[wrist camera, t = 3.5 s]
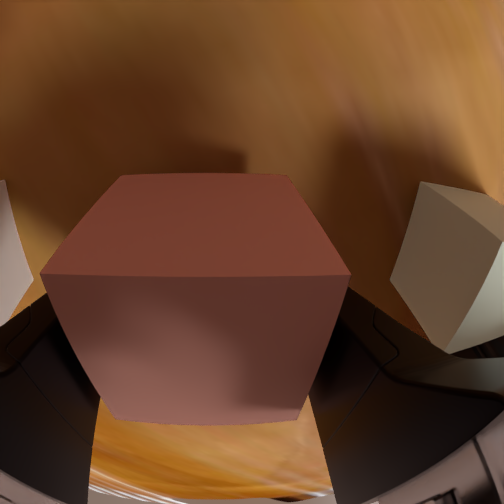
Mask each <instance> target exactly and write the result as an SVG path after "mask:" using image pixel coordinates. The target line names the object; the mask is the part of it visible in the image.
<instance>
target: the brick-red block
mask: <svg viewBox="0 0 504 504" xmlns="http://www.w3.org/2000/svg"><path fill="white" fill-rule="evenodd" d="M40 276H41V278H42V281H43V284H44V286H45V289H46V291H47V294H48V296H49V299H50V301H51V304H52V306H53V308H54V311H55V313H56V315H57V317H58V320H59V322H60V324H61V326H62V328H63V330H64V332H65V334H66V336H67V338H68V340H69V342H70V344H71V346H72V348H73V350H74V352H75V354H76V356H77V358H78V359H79V361H80V363H81V365H82V367H83V368H84V370H85V372H86V374H87V375H88V377H89V379H90V380H91V382H92V384H93V385H94V387H95V389H96V390H97V392H98V394H99V395H100V397H101V398H102V400H103V401H104V403H105V404H106V406H107V407H108V409H109V410H110V412H111V413H112V415H113V416H114V418H115V419H119V420H127V421H136V422H146V423H158V424H174V425H243V424H260V423H272V422H283V421H292V420H297V418H298V416H299V414H300V411H301V409H302V407H303V405H304V402H305V400H306V398H307V395H308V393H309V391H310V388H311V386H312V384H313V381H314V379H315V376H316V374H317V371H318V369H319V366H320V364H321V361H322V359H323V356H324V353H325V351H326V348H327V345H328V343H329V340H330V337H331V335H332V332H333V329H334V326H335V323H336V320H337V317H338V315H339V312H340V309H341V306H342V303H343V300H344V296H345V293H346V290H347V287H348V284H349V281H350V277H351V273H350V272H349V270H348V268H347V267H346V265H345V263H344V262H343V260H342V258H341V257H340V255H339V254H338V252H337V250H336V249H335V247H334V246H333V244H332V242H331V241H330V239H329V238H328V236H327V235H326V233H325V231H324V230H323V228H322V227H321V225H320V224H319V222H318V221H317V219H316V218H315V216H314V215H313V213H312V212H311V210H310V209H309V207H308V206H307V204H306V203H305V201H304V200H303V198H302V197H301V195H300V194H299V192H298V191H297V189H296V188H295V186H294V185H293V184H292V182H291V181H290V179H289V178H288V176H287V175H273V174H246V173H161V174H135V175H121V176H120V177H119V178H118V179H117V180H116V181H115V182H114V183H113V184H112V185H111V186H110V187H109V189H108V190H107V191H106V192H105V193H104V194H103V195H102V196H101V197H100V198H99V199H98V201H97V202H96V203H95V204H94V205H93V206H92V207H91V209H90V210H89V211H88V212H87V213H86V214H85V215H84V217H83V218H82V219H81V220H80V221H79V223H78V224H77V225H76V226H75V227H74V229H73V230H72V231H71V232H70V234H69V235H68V236H67V237H66V239H65V240H64V241H63V242H62V244H61V245H60V246H59V248H58V249H57V250H56V252H55V253H54V254H53V256H52V257H51V258H50V260H49V261H48V262H47V264H46V265H45V267H44V268H43V269H42V271H41V272H40Z"/></svg>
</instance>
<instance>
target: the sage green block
mask: <svg viewBox="0 0 504 504" xmlns="http://www.w3.org/2000/svg"><path fill="white" fill-rule="evenodd" d="M390 281H391V283H392V284H393V286H394V287H395V288H396V290H397V291H398V293H399V294H400V296H401V297H402V298H403V300H404V301H405V303H406V304H407V306H408V307H409V309H410V310H411V312H412V313H413V315H414V316H415V318H416V319H417V321H418V322H419V324H420V325H421V327H422V329H423V330H424V332H425V333H426V335H427V336H428V338H429V340H430V341H431V343H432V344H434V345H435V346H437V347H438V348H440V349H442V350H443V351H445V352H447V353H448V354H451V353H454V352H457V351H461V350H464V349H467V348H470V347H473V346H476V345H479V344H482V343H484V342H487V341H490V340H493V339H495V338H498V337H501V336H503V335H504V206H503V205H502V204H500V203H499V202H498V201H496V200H495V199H493V198H492V197H490V196H488V195H487V194H483V193H478V192H474V191H469V190H464V189H460V188H455V187H450V186H444V185H439V184H433V183H428V182H422V181H420V185H419V188H418V192H417V196H416V200H415V204H414V207H413V211H412V214H411V218H410V221H409V224H408V227H407V231H406V234H405V237H404V240H403V243H402V246H401V249H400V252H399V255H398V258H397V261H396V264H395V266H394V269H393V272H392V275H391V277H390Z"/></svg>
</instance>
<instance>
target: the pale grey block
mask: <svg viewBox="0 0 504 504" xmlns="http://www.w3.org/2000/svg"><path fill="white" fill-rule="evenodd" d="M33 280H34V279H33V276H32V274H31V271H30V268H29V266H28V263H27V260H26V257H25V254H24V251H23V248H22V245H21V242H20V238H19V235H18V232H17V228H16V224H15V221H14V217H13V213H12V209H11V205H10V201H9V196H8V192H7V187H6V182H5V180H0V326H2V325H3V324H5V323H6V322H7V321H8V320H9V318H10V316H11V315H12V313H13V311H14V310H15V308H16V306H17V305H18V303H19V302H20V300H21V298H22V297H23V295H24V294H25V292H26V291H27V289H28V288H29V286H30V285H31V283H32V282H33Z"/></svg>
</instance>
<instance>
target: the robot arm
mask: <svg viewBox="0 0 504 504" xmlns="http://www.w3.org/2000/svg"><path fill="white" fill-rule="evenodd" d="M308 395H309V399H310V402H311V406H312V410H313V413H314V417H315V421H316V425H317V428H318V432H319V436H320V440H321V443H322V447H323V448H324V449H323V452H324V455H325V459H326V463H327V467H328V471H329V475H330V479H331V483H332V486H333V490H334V494H335V498H336V502H337V504H370V503H373V502H376V501H379V504H504V335H503V336H501V337H498V338H495V339H493V340H490V341H487V342H484V343H482V344H479V345H476V346H473V347H470V348H467V349H464V350H461V351H457V352H454V353H451V354H448V353H447V352H445V351H443V350H442V349H440V348H438V347H437V346H435V345H434V344H432V343H430V342H429V341H427V340H426V339H424V338H422V337H421V336H419V335H417V334H416V333H414V332H413V331H411V330H410V329H408V328H406V327H405V326H403V325H402V324H400V323H399V322H397V321H396V320H394V319H393V318H391V317H390V316H389V315H387V314H386V313H384V312H383V311H382V310H380V309H379V308H377V307H376V308H375V305H373V304H372V303H371V302H369V301H368V300H366V299H365V298H364V297H362V296H361V295H359V294H358V293H357V292H355V291H354V290H352V289H351V288H350V287H347V290H346V293H345V296H344V300H343V303H342V306H341V309H340V312H339V315H338V317H337V320H336V323H335V326H334V329H333V332H332V335H331V337H330V340H329V343H328V345H327V348H326V351H325V353H324V356H323V359H322V361H321V364H320V366H319V369H318V371H317V374H316V376H315V379H314V381H313V384H312V386H311V388H310V391H309V393H308ZM99 402H100V395H99V394H98V392H97V390H96V389H95V387H94V385H93V384H92V382H91V380H90V379H89V377H88V375H87V374H86V372H85V370H84V368H83V367H82V365H81V363H80V361H79V359H78V358H77V356H76V354H75V352H74V350H73V348H72V346H71V344H70V342H69V340H68V338H67V336H66V334H65V332H64V330H63V328H62V326H61V324H60V322H59V320H58V317H57V315H56V313H55V311H54V308H53V306H52V304H51V301H50V299H49V296H48V294H47V293H46V294H44V295H43V296H42V297H40V298H39V299H37V300H36V301H35V302H33V303H32V304H31V305H30V306H28V307H26V308H25V309H24V310H23V311H21V312H20V313H18V314H17V315H16V316H14V317H13V318H12V319H10V320H9V321H8V322H6V323H5V324H3V325H2V326H0V504H57V503H60V504H87V502H88V486H89V475H90V465H91V456H92V446H93V439H94V432H95V426H96V419H97V413H98V408H99Z"/></svg>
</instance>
